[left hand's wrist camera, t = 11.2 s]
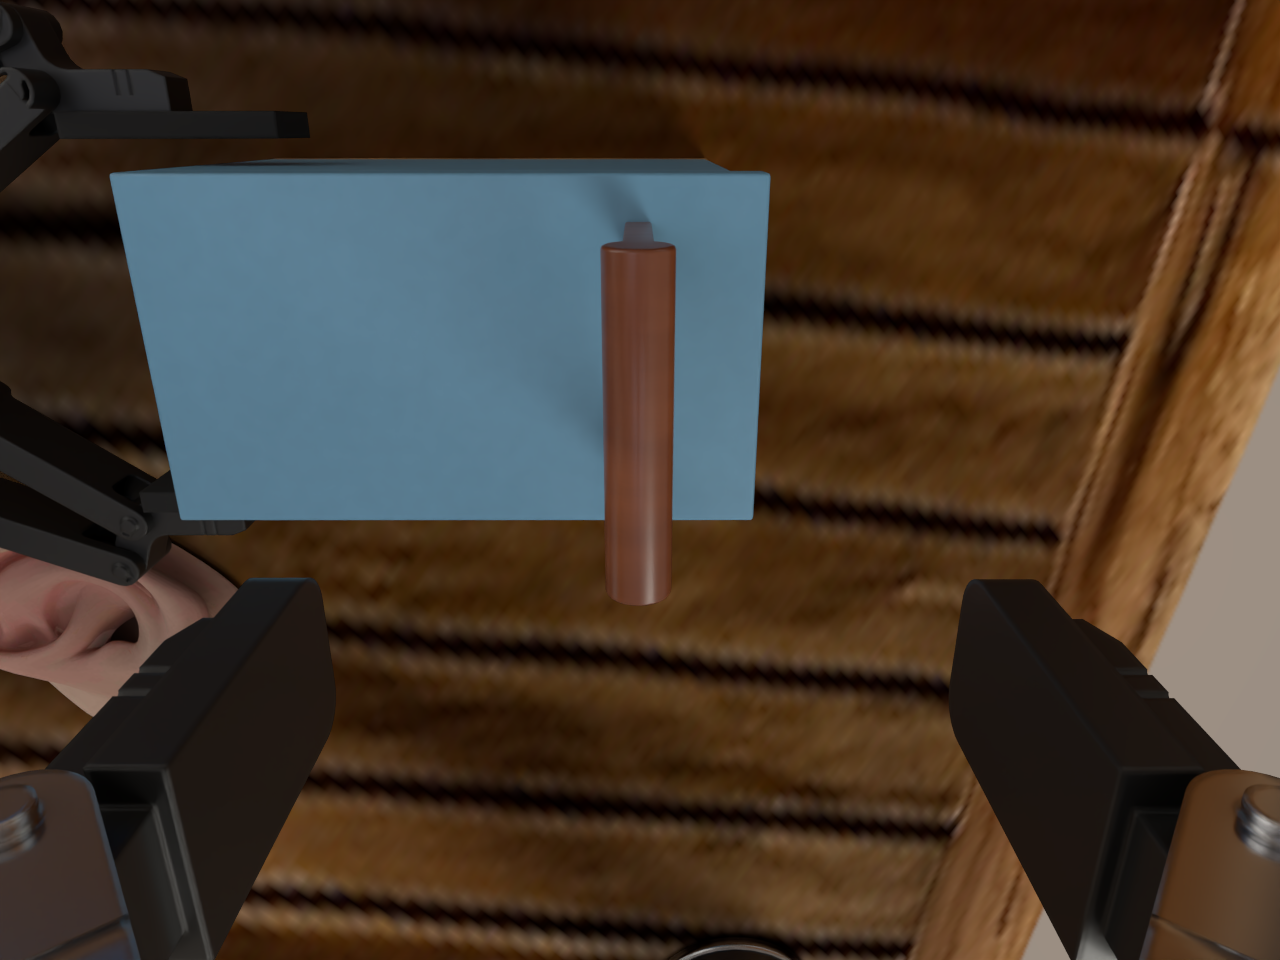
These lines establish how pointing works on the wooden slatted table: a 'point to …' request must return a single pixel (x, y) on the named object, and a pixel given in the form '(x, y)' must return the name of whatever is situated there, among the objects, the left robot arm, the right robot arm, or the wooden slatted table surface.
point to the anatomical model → (97, 620)
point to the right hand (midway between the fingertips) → (320, 319)
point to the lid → (457, 346)
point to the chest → (461, 164)
